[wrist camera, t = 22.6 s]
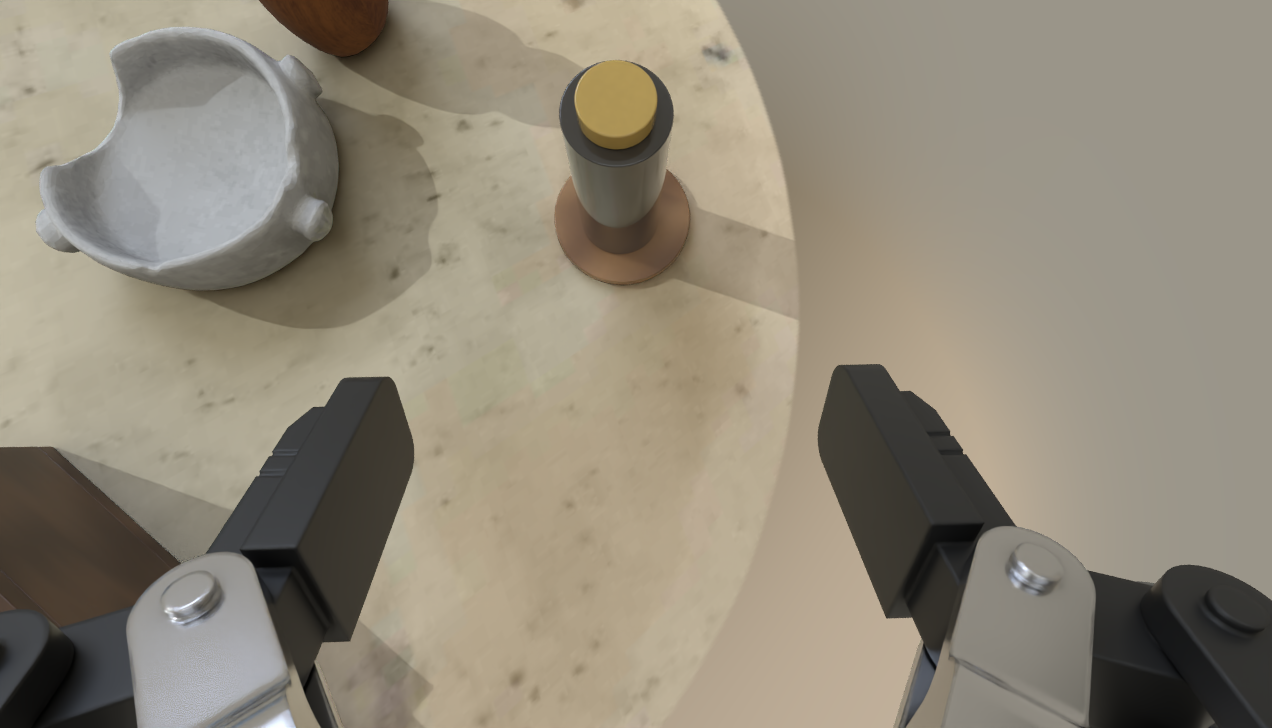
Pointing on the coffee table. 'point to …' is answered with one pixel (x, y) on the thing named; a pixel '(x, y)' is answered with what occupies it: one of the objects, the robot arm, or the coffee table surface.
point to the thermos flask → (617, 151)
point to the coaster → (630, 265)
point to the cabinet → (68, 542)
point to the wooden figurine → (332, 22)
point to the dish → (199, 166)
